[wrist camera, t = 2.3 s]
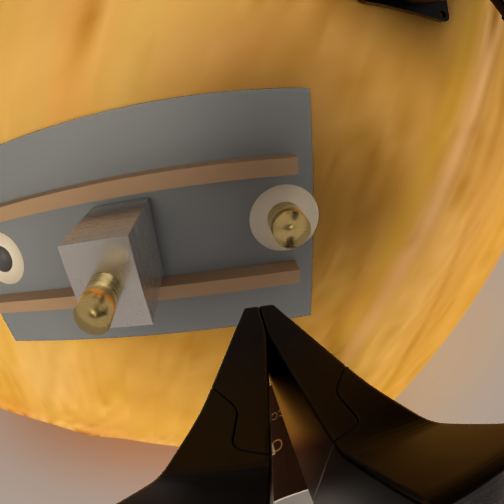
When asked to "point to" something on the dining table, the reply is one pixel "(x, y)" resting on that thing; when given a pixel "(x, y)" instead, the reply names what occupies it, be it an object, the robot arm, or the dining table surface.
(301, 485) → the coffee mug
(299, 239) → the fixed brass pin
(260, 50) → the dining table surface
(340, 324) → the dining table surface
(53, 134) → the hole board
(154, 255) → the sliding pin block
